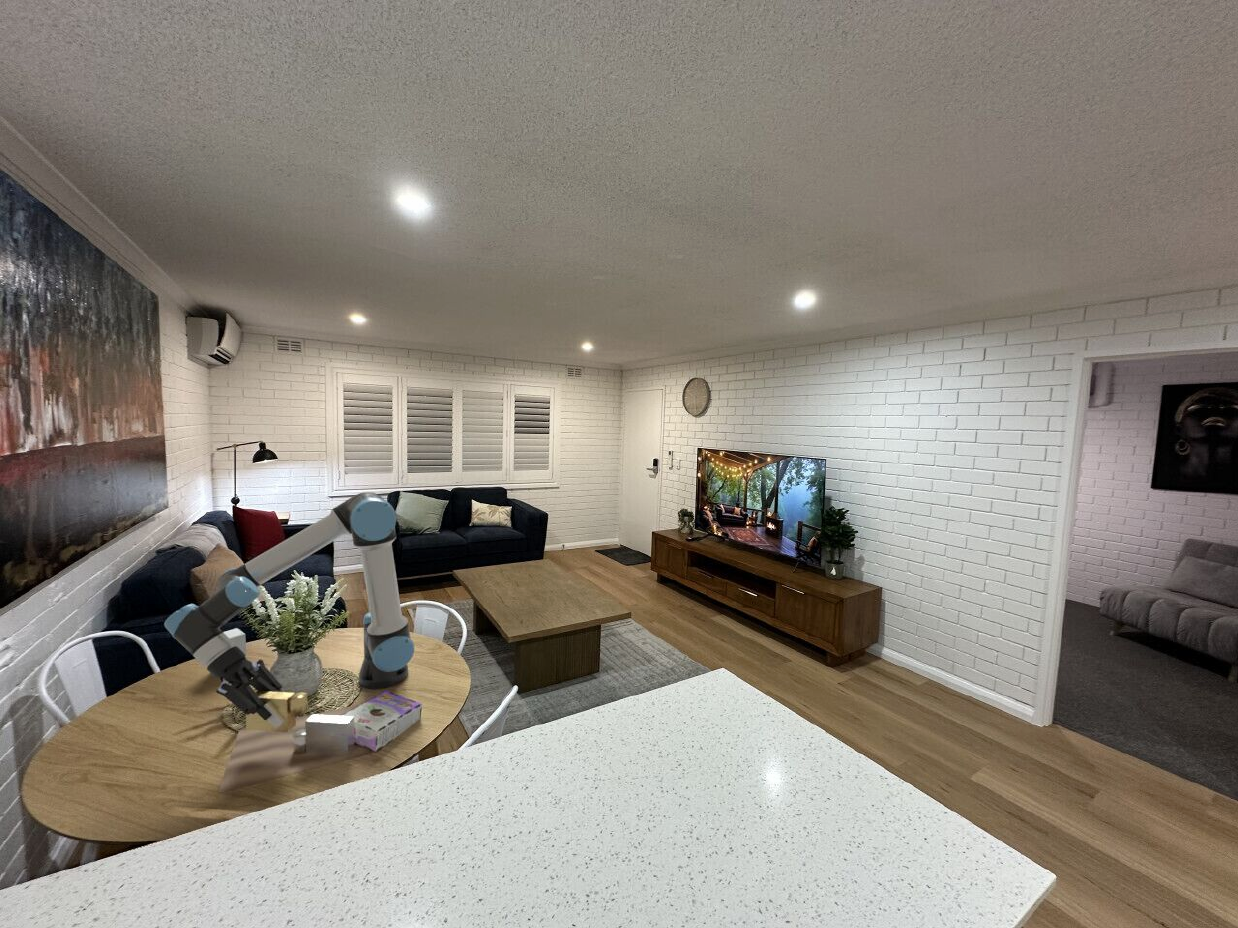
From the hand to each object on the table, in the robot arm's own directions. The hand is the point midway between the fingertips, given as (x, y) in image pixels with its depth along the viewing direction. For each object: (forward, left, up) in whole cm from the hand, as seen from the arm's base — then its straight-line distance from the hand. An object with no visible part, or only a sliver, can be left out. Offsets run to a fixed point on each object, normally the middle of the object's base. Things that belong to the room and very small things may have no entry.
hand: (285, 720), depth 130 cm
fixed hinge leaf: (+5, +8, -8) cm, 13 cm away
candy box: (-5, +29, -6) cm, 30 cm away
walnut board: (-2, +4, -9) cm, 10 cm away
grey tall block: (-56, -21, -10) cm, 61 cm away
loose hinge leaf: (-1, -2, -2) cm, 3 cm away
